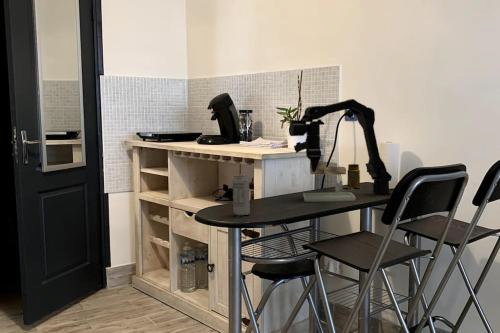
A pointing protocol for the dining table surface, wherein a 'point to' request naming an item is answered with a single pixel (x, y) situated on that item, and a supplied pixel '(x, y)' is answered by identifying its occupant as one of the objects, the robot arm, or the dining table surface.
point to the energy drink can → (241, 194)
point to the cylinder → (338, 186)
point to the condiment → (353, 175)
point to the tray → (328, 197)
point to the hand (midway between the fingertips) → (313, 171)
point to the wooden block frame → (328, 170)
